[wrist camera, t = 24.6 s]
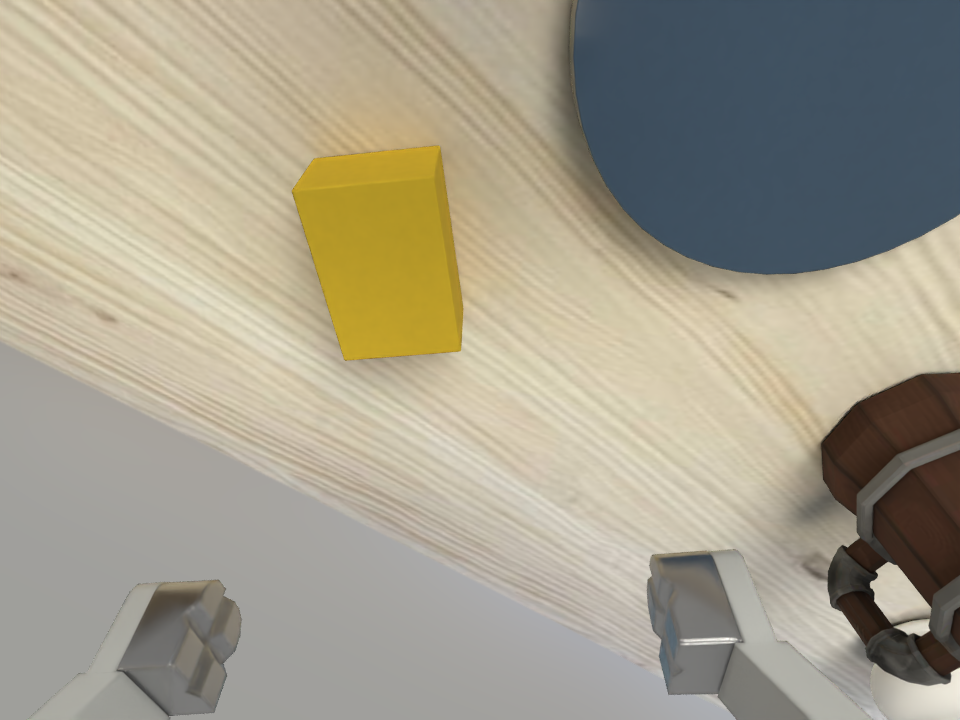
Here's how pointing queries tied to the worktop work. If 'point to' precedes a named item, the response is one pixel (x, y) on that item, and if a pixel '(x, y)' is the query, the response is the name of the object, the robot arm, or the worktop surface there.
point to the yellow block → (384, 251)
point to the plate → (773, 123)
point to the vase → (915, 690)
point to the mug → (901, 520)
